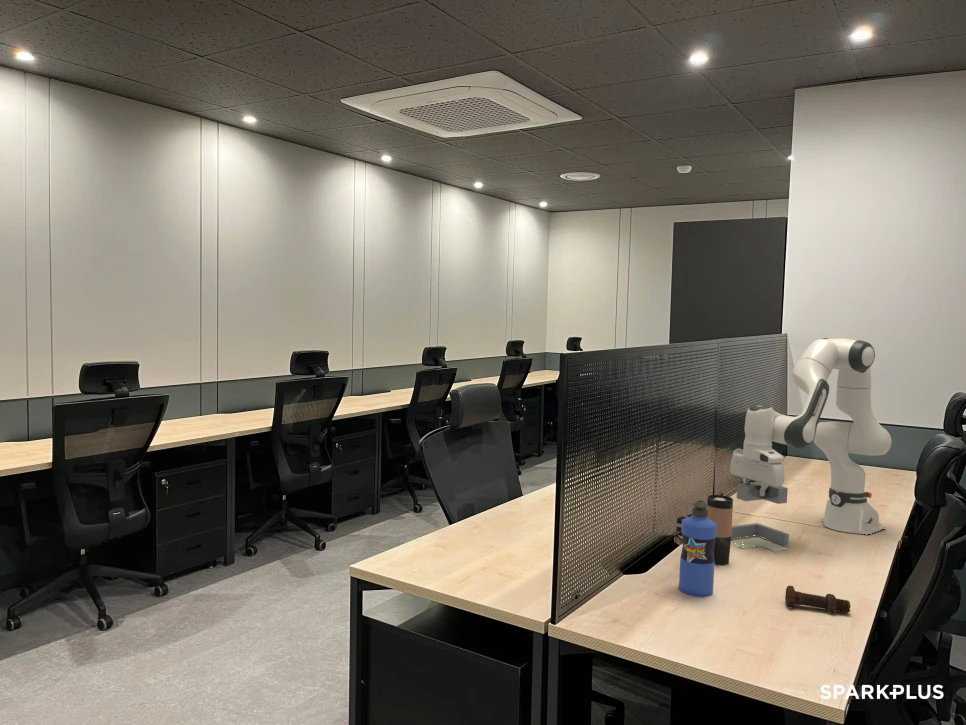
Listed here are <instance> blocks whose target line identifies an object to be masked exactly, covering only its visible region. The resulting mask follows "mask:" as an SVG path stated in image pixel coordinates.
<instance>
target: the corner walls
mask: <svg viewBox="0 0 966 725" xmlns="http://www.w3.org/2000/svg"><path fill="white" fill-rule="evenodd" d="M753 535H758V536H757V537H759V536H761V537H760V538H762V537H764V538H766V539H765V540H767V539H768V540H767V541H770V540H771V541H770V542H772V541H773V542H772V543H775V542H776V543H775V544H777V543H778V544H777V545H780V544H781V545H780V546H782V547H788V546H789V540H790V539H789V538H790V534H789V533H787V532H784V531H781V530H780V529H779V530H778V529H776V528H773V527H770V526H768V525H764V524H763V523H759V522H754V523H746V524H739V525H732V532H731V538H737V537H738V538H737V539H740V538H739V537H744V538H746V537H745V536H751V537H754V536H753ZM764 538H763V539H764Z"/></svg>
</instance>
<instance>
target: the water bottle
mask: <svg viewBox="0 0 966 725" xmlns="http://www.w3.org/2000/svg"><path fill="white" fill-rule="evenodd" d="M692 505H693V507H692V509H691V514H693V515H692V516H691V517H686V518H685V519H683V520H682V524H681V526H680V527H681V533H682V537H681V539H682V540H681V541H682V542H681V543H682V548H681V555H680V559H679V561H680V562H679V575H678V576H679V577H678V590H679V592H682V593H683V594H685V595H688V596H691V597H698V598H700V597H701V598H705V597H710V596H712V595H713V594H714V580H715V579H714V578H715V565H716V564H715V561H714V545H715V540H716V537H717V524H716V523H715V522H713V521H712V520H710V519H708V517H707V516H708V509H707V507H708V506H707V503H706V502H705V501H704V500H697V501H695V502H694V503H693V504H692Z"/></svg>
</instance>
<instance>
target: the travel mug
mask: <svg viewBox="0 0 966 725" xmlns="http://www.w3.org/2000/svg"><path fill="white" fill-rule="evenodd" d="M706 500H707V501H706V502H707V503H706V504H707V506H708V507H707V508H706V509H708V516H707V517H708V519H710V520H712V521H713V522H715V523H716V524H717V537H716V540H715V545H714V561H715V564H714V565H716V566H717V565H718V566H725V565H728V564H729V562H730V554H731V545H732V544H731V542H732V539H731V532H732V526H733V511H734V510H733V508H734V499H733V498H732V497H730V496H727V495H723V494H722V495H721V494H709V495H708V496H707V499H706Z"/></svg>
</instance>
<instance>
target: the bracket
mask: <svg viewBox="0 0 966 725" xmlns="http://www.w3.org/2000/svg"><path fill="white" fill-rule="evenodd" d="M760 484H761V483H760V482H757V481H749V483H743V482H741V483H740V482H738V483H737V488H736V500H737V499H739V500H741V501H744V502H750V501H751V502H753V501H760V500H761V501H762V500H764V501H767V502H771V503H774V504H777V505H780V504H781V505H782V504H787V503H788V493H789V492H788V490H789V488H788V487H785V486H783V485H782V486H777V487H774V486H771V485H768V487H767V489H766V490H765V495H764V496H759V495H758V490H760V489H761V487H762V486H761V485H760Z"/></svg>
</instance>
